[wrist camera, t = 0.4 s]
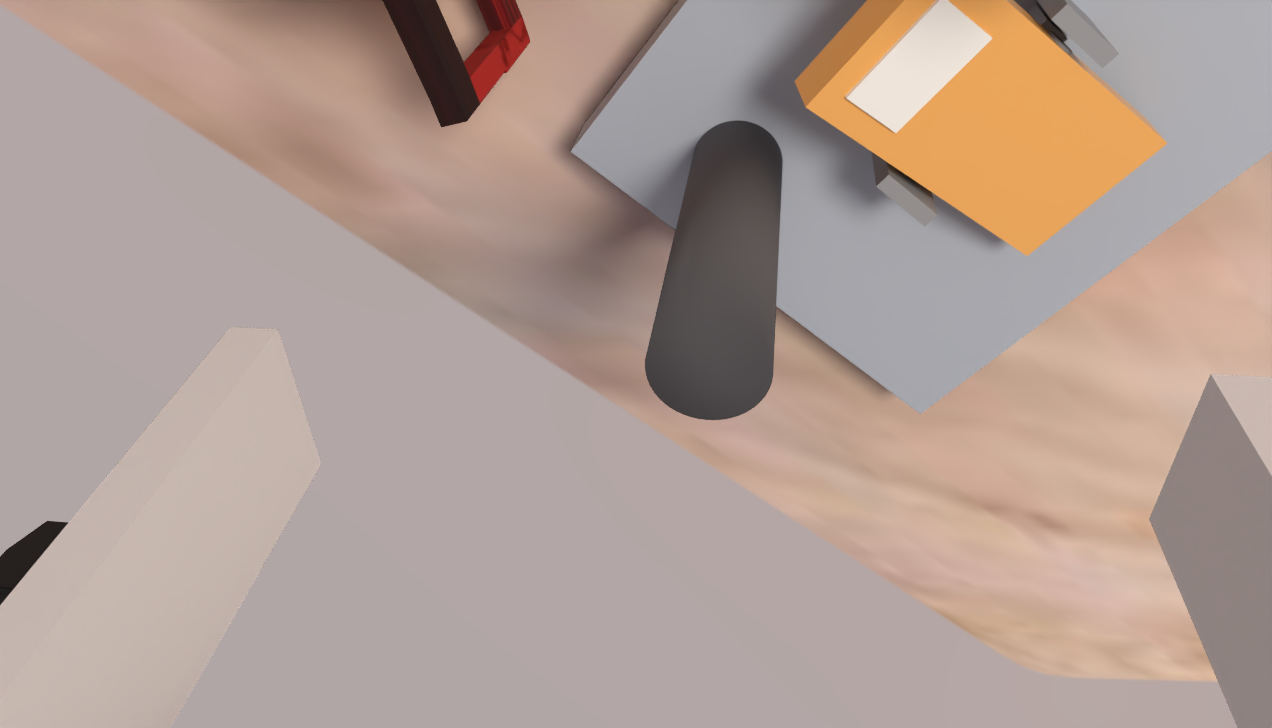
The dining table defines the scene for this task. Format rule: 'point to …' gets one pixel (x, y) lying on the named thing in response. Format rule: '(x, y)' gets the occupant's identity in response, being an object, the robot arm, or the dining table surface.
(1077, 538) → the dining table surface
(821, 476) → the dining table surface
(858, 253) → the panel
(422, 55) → the mug
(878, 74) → the paddle
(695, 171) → the cylinder
